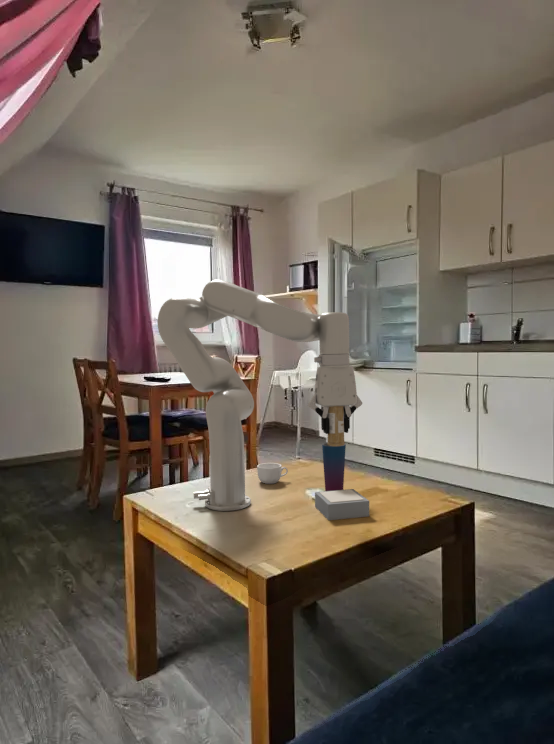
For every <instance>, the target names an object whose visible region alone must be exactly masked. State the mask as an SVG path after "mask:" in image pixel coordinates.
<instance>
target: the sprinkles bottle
mask: <svg viewBox="0 0 554 744" xmlns="http://www.w3.org/2000/svg"><path fill="white" fill-rule="evenodd" d="M327 416H328V418H329V434H327V441H326V442H327V444H328V445H329V446H342V445H344V444H346V443H345V432H344V409H343V406H333V407H329V409H328V414H327Z"/></svg>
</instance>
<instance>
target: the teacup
mask: <svg viewBox="0 0 554 744" xmlns="http://www.w3.org/2000/svg"><path fill="white" fill-rule="evenodd" d="M283 470H286V472H285V473H283V474H282V472H283ZM256 471H257V472H256V473H257V477H258V480H259V481H260V482H261V483H263V484H264V483H265V484H266V485H273V484H277V483H278V482H279V481H280V479H281V478H282V477H284V476H286V475H287V474H288V473H289V471H288V468H287V467H286V466H282V464H281V463H277V462H264V463H263V462H262V463H259V464H258V465H256Z"/></svg>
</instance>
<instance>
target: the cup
mask: <svg viewBox="0 0 554 744" xmlns="http://www.w3.org/2000/svg"><path fill="white" fill-rule="evenodd" d="M327 442H328V441H326V442H323V443H322V444H321V447H322V448H321V450H322V462H323V478H324V489H325V490H324V491H335V490H344V486H345V485H344V484H345V483H344V482H345V465H346V449H347V448H346V447H347V446H346V445H347V444H346V443H345V444H344V445H342V446H329V445H328V444H327Z"/></svg>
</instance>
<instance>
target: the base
mask: <svg viewBox="0 0 554 744" xmlns="http://www.w3.org/2000/svg"><path fill="white" fill-rule="evenodd" d="M314 507H315V508H316V509H317V510H318V512H320V514H322V515H323V517H325V519H326V520H328V521H334V520H335V521H336V520H344V519H354V518H355V519H356V518H357V519H358V518H364V517H370V500H369V499H367V498H366V497H364V496H363V495H362V494H361V493H359V492H358V491H356V490H355V488H351V489H350V488H348V489H343V490H335V491H325V490H324V491H315V492H314Z"/></svg>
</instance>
